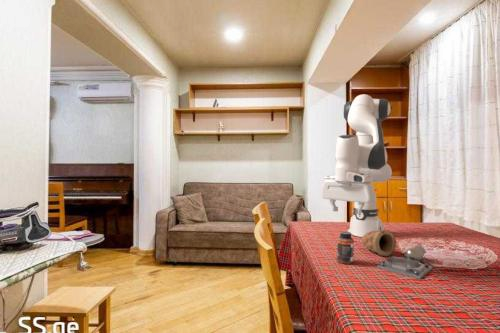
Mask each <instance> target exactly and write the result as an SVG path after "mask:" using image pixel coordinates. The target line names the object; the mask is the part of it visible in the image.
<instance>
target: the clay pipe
mask: <svg viewBox="0 0 500 333" xmlns="http://www.w3.org/2000/svg"><path fill="white" fill-rule="evenodd" d="M361 242H362V245H364V246H365V247H366V249H367V250H371V252H372V253H374V254H377V255H379V256H381V257H389V256H391V255H392V254H393V253H394V251H395V250H396V247H397V240H396V237H395V235H394V234H393V233H392V232H390V231H389V230H387V229H383V230H377V231H371V232H367V233H366V234H365V235H364V236H363V237H361Z"/></svg>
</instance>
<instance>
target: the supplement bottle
mask: <svg viewBox="0 0 500 333" xmlns="http://www.w3.org/2000/svg"><path fill="white" fill-rule="evenodd" d="M354 242H355V240H354V239H353V238H352V234H351V233H350V232H348V231H340V233H339V237H338V238H337V245H336V247H337V249H336V250H337V252H336V253H337V254H336V255H337V256H336V260H337V262H339V264H340V263H341V264H345V265H350V264H354V253H355V252H354V249H355V248H354V245H355V244H354Z"/></svg>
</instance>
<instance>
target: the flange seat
mask: <svg viewBox="0 0 500 333" xmlns="http://www.w3.org/2000/svg"><path fill="white" fill-rule="evenodd" d="M425 253H426V254H427V251H426V249H425V248H424V247H423V246H421V245H415V246H413V247H412V248H410V249H408V250H406V251H405V252H404V255H403V257H397V256H396V255H392V256H390V257H388V258H387V259H385V260H384V261H382V262H380V263H378V264H377V266H376V268H378V269H382V270H384V271H388V272H392V273H396V274H400V275H403V276H408V277H411V278H415V279H417V280H421V279H422V278H423V277H425V275H427V274H428V273H429V272H430V271H431V270H432V269H433V266H432V265H430V264H429V263H426V262H424V264H423V263H422V262H421V260H422V259H424V258H423V256H424V254H425Z"/></svg>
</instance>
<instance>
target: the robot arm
mask: <svg viewBox="0 0 500 333" xmlns="http://www.w3.org/2000/svg"><path fill="white" fill-rule="evenodd" d="M342 109H343V110H342V115H343V118H344V120H345V121H347V123H348V126H349V127H350V128H351V129H352V130H353V131H355V133H356V134H342V135H339V136H338V137H337V140H336V145H335V168H334V175H333V176H332V175H327V176H325V177H324V178H323V179H322V188H321V198H322V199H324V200H329V203H330V205H331V207H332V212H338V211H339V206H336V201H344V202H352V203H353V209H352V216H351V217H350V224H349V228H348V229H347V232H350V233H351V236H352V235H353V236H356V237H358V238H359V237H360V238H362V237H363V236H364V235H365V234H366V233H367V232H371V231H377V230H384V226H383V225H384V224H383V221H382V220H381V219H380V218H379V214H378V213H380V209H379V208H377V198H378V197H377V194H376V193H375V187H374V185H373V183H377V184H378V183H385V182H388V181H390V179H391V177H392V175H393V174H392V173H393V171H392V168H391V166H390V165H389V164H388V163H387V162H388V152H387V150H386V147H385V141H384V139H385V138H384V132H383V128H382V122H383V121H385V120H387V119H388V118H389V115H390V114H391V109H392V108H391V105H390V102H389V100H388V99H386V98H373V97H372V96H371V95H368V94H365V93H363V94H359V95H357V96H356V97H355V98H354V99H353V100H349V101H347V102H345V104H344V106H343V108H342Z"/></svg>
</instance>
